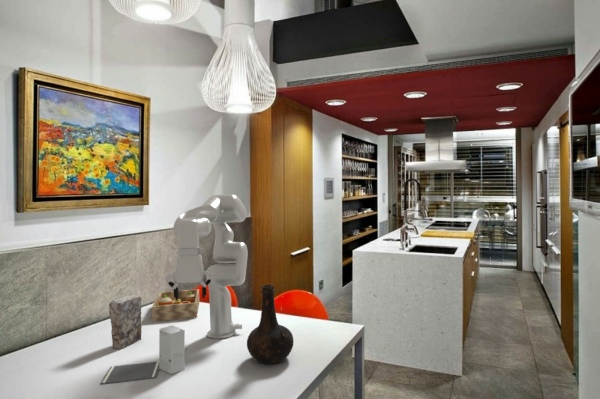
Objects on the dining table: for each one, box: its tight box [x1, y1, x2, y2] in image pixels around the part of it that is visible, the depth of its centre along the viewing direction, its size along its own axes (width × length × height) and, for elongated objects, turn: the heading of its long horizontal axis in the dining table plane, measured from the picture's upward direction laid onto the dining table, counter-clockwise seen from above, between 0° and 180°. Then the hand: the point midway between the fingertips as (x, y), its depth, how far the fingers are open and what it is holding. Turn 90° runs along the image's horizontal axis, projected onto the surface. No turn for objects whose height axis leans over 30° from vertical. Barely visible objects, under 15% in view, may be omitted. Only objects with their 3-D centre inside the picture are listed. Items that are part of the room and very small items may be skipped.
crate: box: [151, 288, 200, 323], centre depth 227 cm, size 22×32×8 cm
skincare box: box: [158, 325, 186, 375], centre depth 150 cm, size 8×6×15 cm
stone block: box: [108, 294, 143, 350], centre depth 178 cm, size 13×7×20 cm, turn 165°
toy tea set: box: [156, 292, 196, 306], centre depth 227 cm, size 26×16×10 cm, turn 171°
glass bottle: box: [246, 284, 295, 365], centre depth 156 cm, size 18×18×28 cm
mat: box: [100, 360, 160, 385], centre depth 148 cm, size 18×14×1 cm
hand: (190, 298), depth 153 cm, fingers open, 9 cm apart
